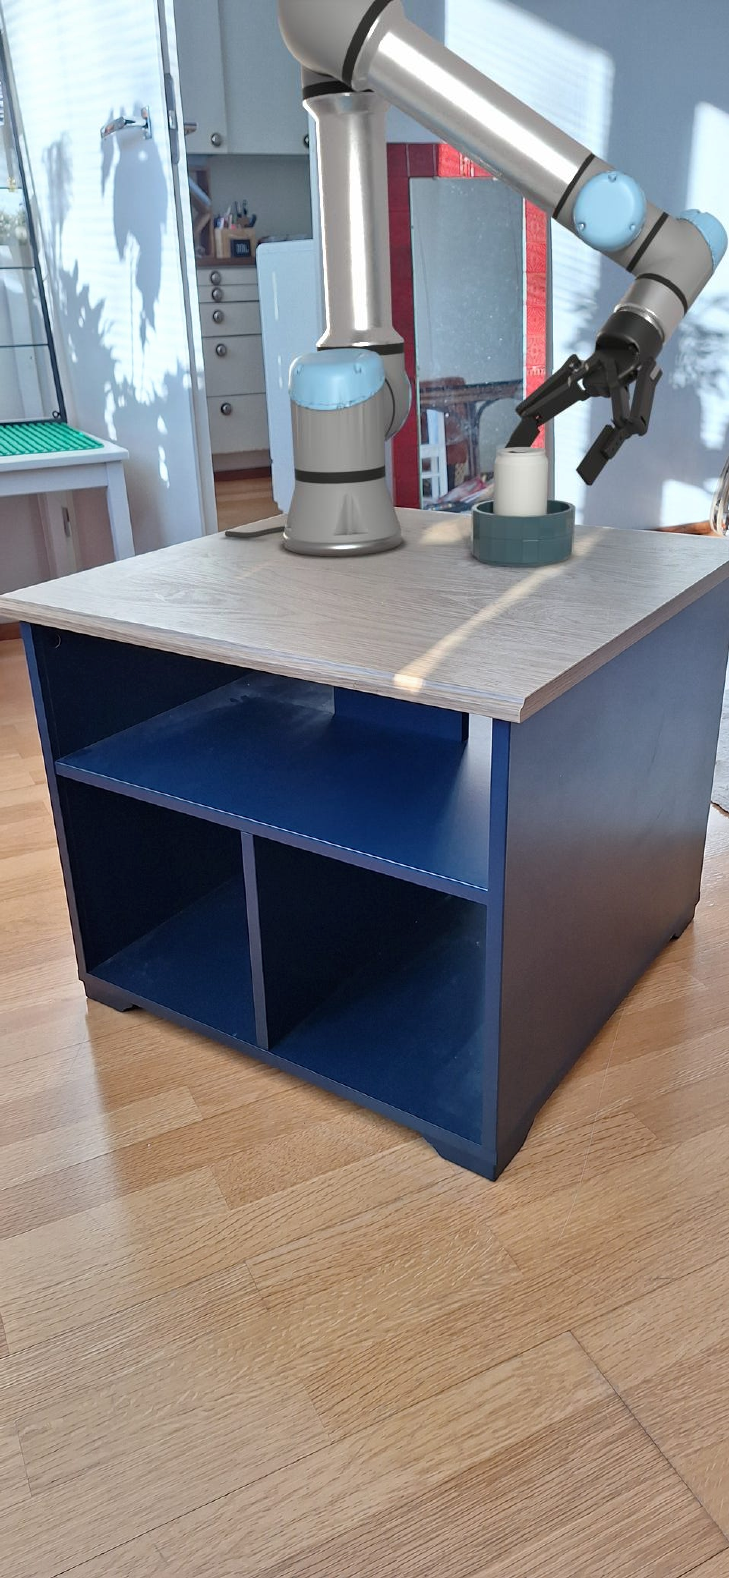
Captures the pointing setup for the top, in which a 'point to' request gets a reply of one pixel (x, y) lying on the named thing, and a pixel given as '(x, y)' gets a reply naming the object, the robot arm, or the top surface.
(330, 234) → the robot arm
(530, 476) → the beverage can
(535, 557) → the bowl
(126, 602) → the top surface
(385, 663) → the top surface
